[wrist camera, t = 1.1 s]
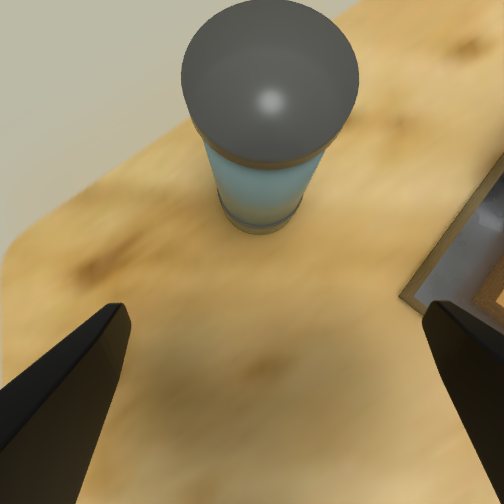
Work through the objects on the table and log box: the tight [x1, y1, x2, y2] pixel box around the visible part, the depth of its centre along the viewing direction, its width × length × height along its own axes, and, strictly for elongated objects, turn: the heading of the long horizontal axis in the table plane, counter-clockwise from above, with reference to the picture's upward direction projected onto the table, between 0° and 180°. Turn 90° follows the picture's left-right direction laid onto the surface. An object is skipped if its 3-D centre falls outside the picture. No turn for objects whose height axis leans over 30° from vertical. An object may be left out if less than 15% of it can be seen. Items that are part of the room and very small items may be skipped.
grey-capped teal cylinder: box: [181, 0, 359, 235], centre depth 17 cm, size 6×6×13 cm
